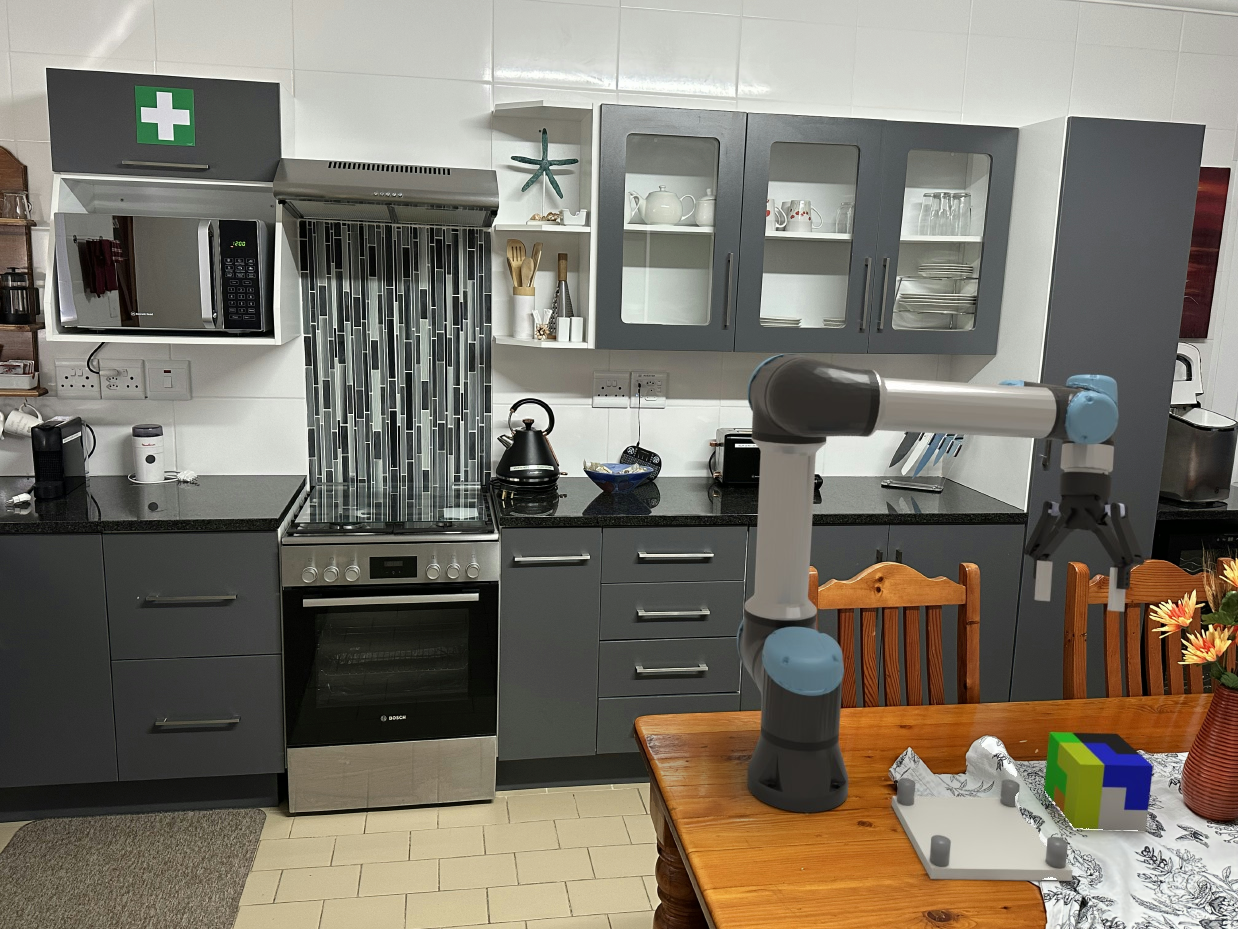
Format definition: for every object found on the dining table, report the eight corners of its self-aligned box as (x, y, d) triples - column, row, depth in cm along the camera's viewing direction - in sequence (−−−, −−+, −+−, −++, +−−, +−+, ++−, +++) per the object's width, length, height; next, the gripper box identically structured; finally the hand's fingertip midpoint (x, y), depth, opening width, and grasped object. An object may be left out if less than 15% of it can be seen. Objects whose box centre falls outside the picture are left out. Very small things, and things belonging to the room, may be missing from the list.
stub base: (930, 879, 121) (933, 846, 120) (891, 805, 139) (893, 777, 138) (1071, 881, 121) (1074, 848, 120) (1014, 807, 139) (1016, 778, 138)
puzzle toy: (1145, 832, 133) (1153, 765, 131) (1073, 830, 133) (1080, 764, 131) (1110, 795, 143) (1117, 733, 141) (1043, 794, 143) (1049, 732, 141)
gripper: (1175, 474, 142) (1167, 616, 140) (1039, 475, 164) (1030, 597, 163) (1142, 469, 138) (1133, 614, 137) (1007, 470, 161) (998, 595, 160)
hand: (1077, 605), depth 150 cm, fingers open, 13 cm apart
